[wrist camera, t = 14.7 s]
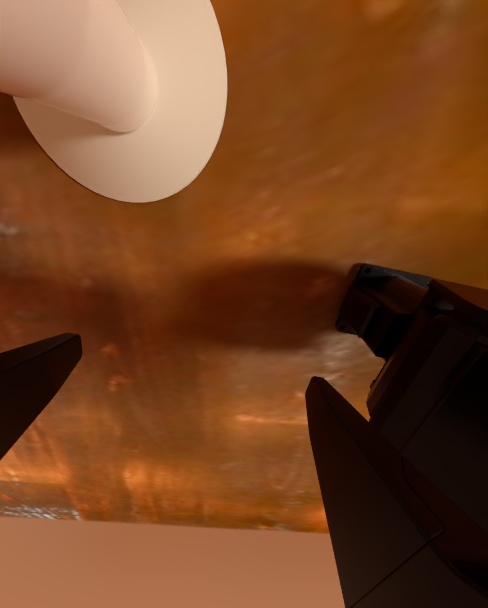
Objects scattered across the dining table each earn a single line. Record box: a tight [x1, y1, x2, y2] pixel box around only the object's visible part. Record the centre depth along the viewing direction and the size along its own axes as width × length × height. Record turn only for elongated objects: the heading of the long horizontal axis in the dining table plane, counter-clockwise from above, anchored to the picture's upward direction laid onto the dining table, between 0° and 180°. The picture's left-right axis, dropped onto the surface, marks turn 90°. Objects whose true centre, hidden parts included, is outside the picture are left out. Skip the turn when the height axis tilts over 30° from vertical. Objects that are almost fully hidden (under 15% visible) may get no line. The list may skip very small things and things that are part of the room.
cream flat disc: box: [13, 0, 227, 202], centre depth 14 cm, size 14×14×1 cm
